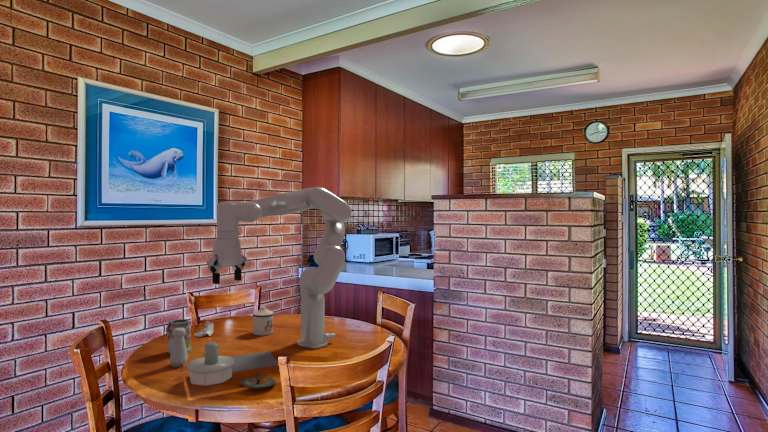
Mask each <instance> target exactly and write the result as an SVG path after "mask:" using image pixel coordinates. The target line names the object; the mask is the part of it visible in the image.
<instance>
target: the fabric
mask: <svg viewBox="0 0 768 432" xmlns="http://www.w3.org/2000/svg"><path fill="white" fill-rule="evenodd" d="M213 333H214V322H212V321H208V320H206V321H205V328H202V329H200V331H198V330H197V331H196V333H193V335H194V336H195V337H197V338H198V337H199V338H202V337H205V338H206V337H207V335H208V336H209V337H212V335H213Z"/></svg>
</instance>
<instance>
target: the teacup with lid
mask: <svg viewBox="0 0 768 432" xmlns="http://www.w3.org/2000/svg"><path fill="white" fill-rule="evenodd" d="M274 315H275V313H274V311H272V310H269V309H267V308H266V306H261V307H260V308H259V310H256V311H253V313H252V317H253V318H252V334H253V335H255V336H269V335H272V334H273V333H274Z"/></svg>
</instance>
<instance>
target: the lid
mask: <svg viewBox="0 0 768 432" xmlns="http://www.w3.org/2000/svg"><path fill="white" fill-rule="evenodd" d="M262 380H263V381H266V382H263V383H261V382H260V381H262ZM276 382H277V381H276V380H275V379H274V378H271V377H266V376H265V377H264V376H261V373H260V372H256V377H250V378H249V377H248V378H246V379H243V380H241V381H240V385H241V386H242V387H244V388H248V389H251V390H258V389H266V388H269V387H272V386H275V385H276Z"/></svg>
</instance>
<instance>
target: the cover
mask: <svg viewBox="0 0 768 432" xmlns="http://www.w3.org/2000/svg"><path fill="white" fill-rule="evenodd" d="M232 357H233V356H227V355H219V342H217V341H216V342H215V341H214V342H213V341H211V342H207V343H204V357H203V356H202V357H198V358H195V359H193V360H191V361H189V362H188V363H187V365H186V366H187V367H186V369H187V370H188V371H189V372H190V371H191V372H194V373H213V372H219V371H223V370H226V369H228V368H230V367H232V366H233V365H234V359H233V358H232Z"/></svg>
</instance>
